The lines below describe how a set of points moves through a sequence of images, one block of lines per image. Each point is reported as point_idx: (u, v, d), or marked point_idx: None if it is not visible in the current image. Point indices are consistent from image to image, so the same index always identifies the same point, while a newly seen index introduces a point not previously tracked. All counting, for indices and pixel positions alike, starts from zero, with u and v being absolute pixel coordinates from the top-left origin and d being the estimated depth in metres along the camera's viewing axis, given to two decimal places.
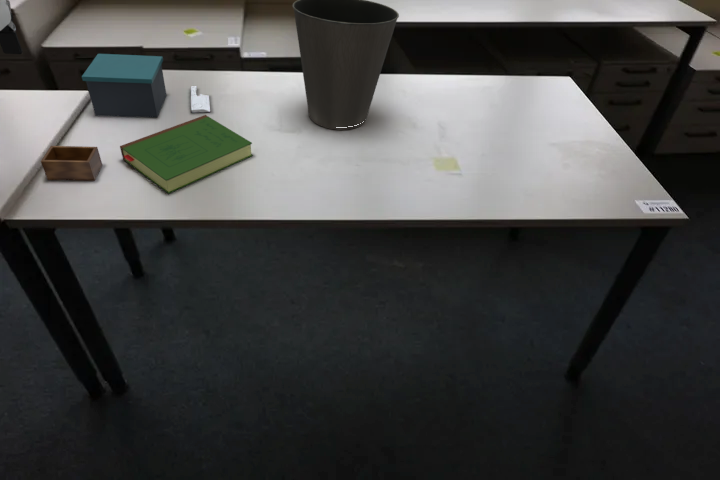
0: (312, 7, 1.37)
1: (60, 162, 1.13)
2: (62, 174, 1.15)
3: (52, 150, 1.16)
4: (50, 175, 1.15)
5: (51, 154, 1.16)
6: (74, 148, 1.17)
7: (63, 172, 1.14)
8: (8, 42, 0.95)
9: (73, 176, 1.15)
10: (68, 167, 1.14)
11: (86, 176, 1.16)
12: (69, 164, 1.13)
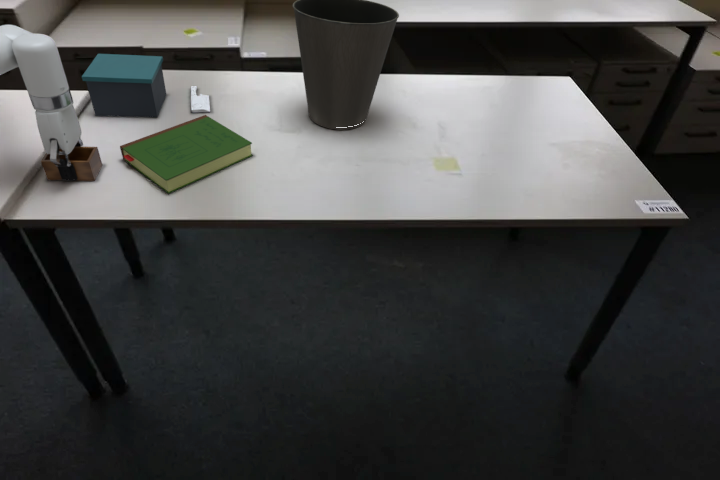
0: (312, 7, 1.37)
1: None
2: None
3: None
4: (50, 175, 1.15)
5: None
6: (74, 148, 1.17)
7: None
8: None
9: None
10: None
11: (86, 176, 1.16)
12: None
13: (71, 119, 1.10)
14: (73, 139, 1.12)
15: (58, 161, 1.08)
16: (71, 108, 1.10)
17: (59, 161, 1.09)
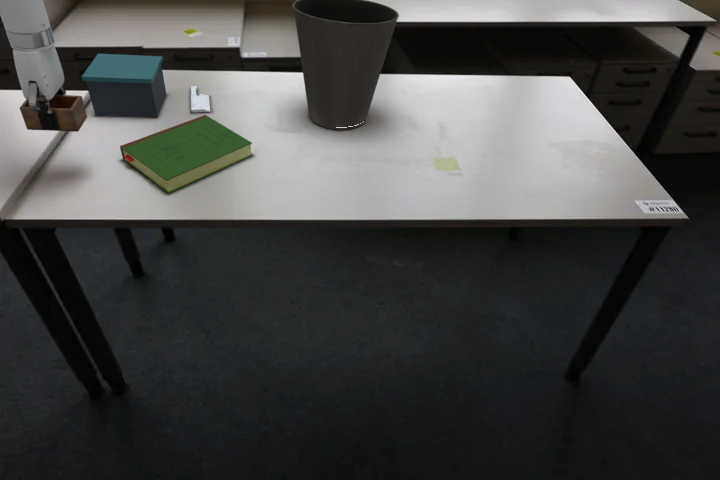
0: (312, 7, 1.37)
1: None
2: None
3: None
4: (30, 124, 1.06)
5: None
6: (56, 96, 1.09)
7: None
8: None
9: None
10: None
11: (69, 126, 1.08)
12: None
13: (53, 62, 1.02)
14: (55, 84, 1.04)
15: (38, 106, 1.00)
16: (53, 50, 1.02)
17: (39, 106, 1.01)
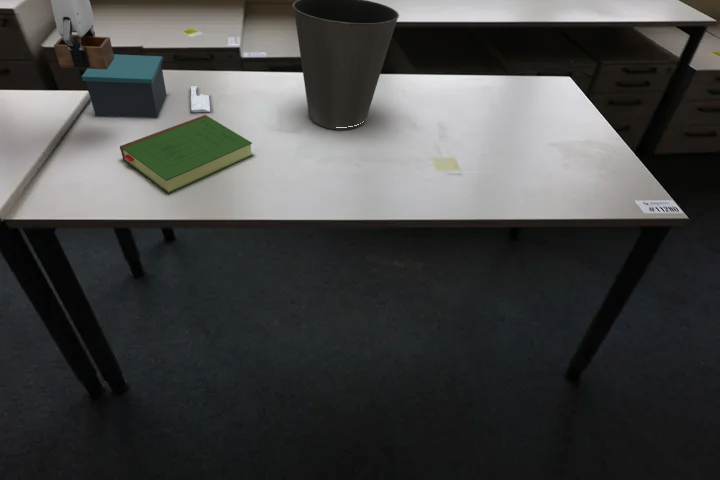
0: (312, 7, 1.37)
1: None
2: None
3: None
4: (63, 61, 1.15)
5: (63, 41, 1.17)
6: (87, 37, 1.18)
7: None
8: None
9: None
10: None
11: (98, 64, 1.16)
12: None
13: (84, 1, 1.11)
14: (86, 23, 1.12)
15: (71, 41, 1.09)
16: None
17: (72, 42, 1.09)
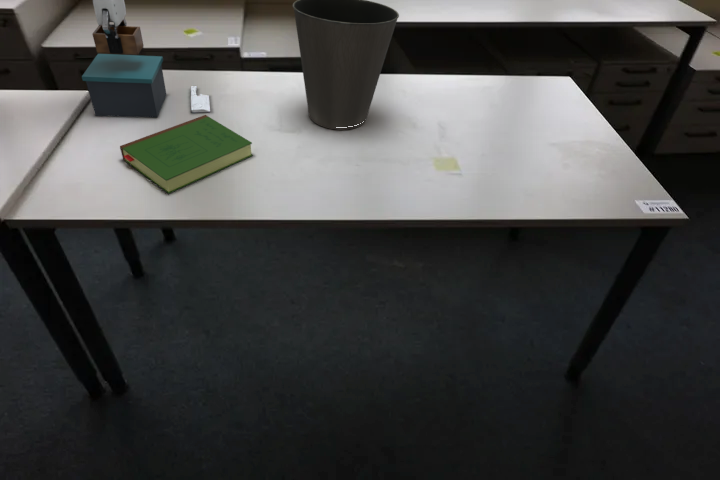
0: (312, 7, 1.37)
1: None
2: None
3: (101, 28, 1.32)
4: (100, 48, 1.30)
5: (100, 30, 1.32)
6: (120, 27, 1.33)
7: None
8: None
9: None
10: None
11: (131, 50, 1.32)
12: None
13: None
14: (120, 14, 1.28)
15: (109, 30, 1.24)
16: None
17: (109, 30, 1.25)
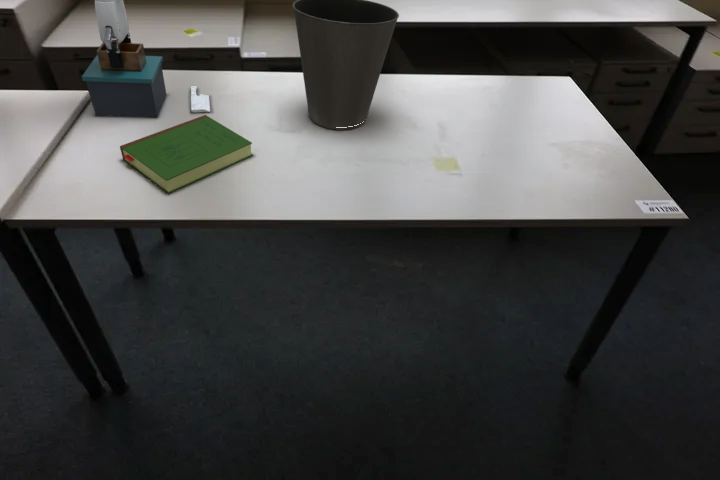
0: (312, 7, 1.37)
1: None
2: None
3: (104, 45, 1.35)
4: (103, 65, 1.33)
5: (104, 47, 1.34)
6: (123, 44, 1.36)
7: None
8: None
9: None
10: None
11: (134, 67, 1.34)
12: None
13: (122, 12, 1.29)
14: (124, 30, 1.30)
15: (110, 43, 1.25)
16: (122, 3, 1.29)
17: (111, 44, 1.26)
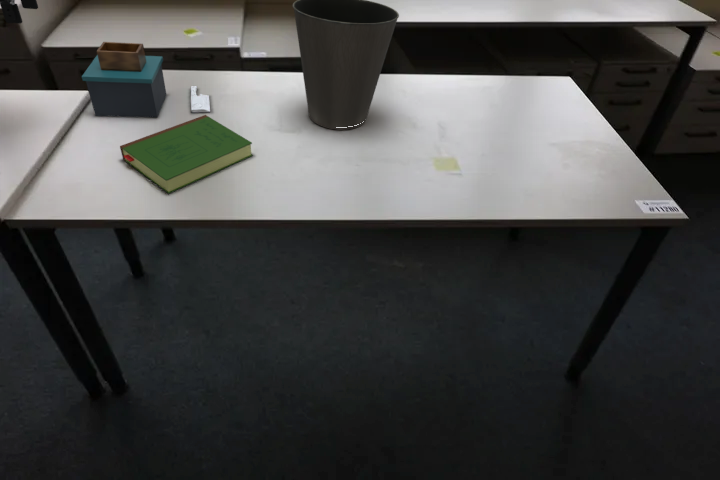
0: (312, 7, 1.37)
1: (113, 52, 1.31)
2: (114, 64, 1.33)
3: (104, 45, 1.35)
4: (103, 65, 1.33)
5: (104, 47, 1.34)
6: (123, 44, 1.36)
7: (114, 62, 1.33)
8: None
9: (123, 67, 1.34)
10: (119, 57, 1.32)
11: (134, 67, 1.34)
12: (120, 54, 1.32)
13: None
14: None
15: None
16: None
17: None
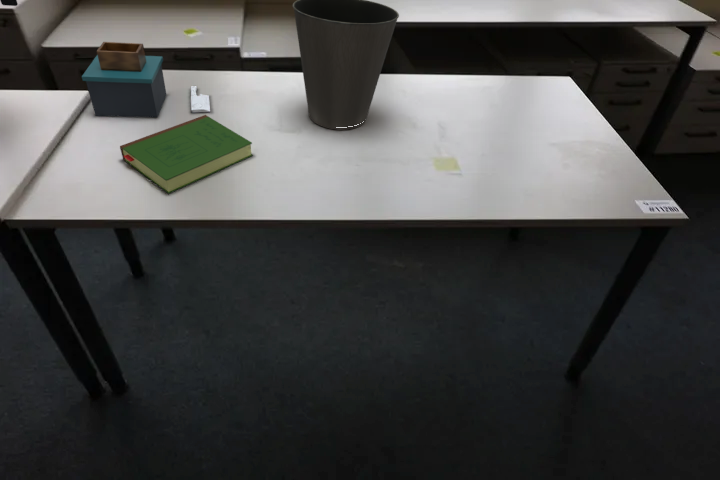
0: (312, 7, 1.37)
1: (113, 52, 1.31)
2: (114, 64, 1.33)
3: (104, 45, 1.35)
4: (103, 65, 1.33)
5: (104, 47, 1.34)
6: (123, 44, 1.36)
7: (114, 62, 1.33)
8: None
9: (123, 67, 1.34)
10: (119, 57, 1.32)
11: (134, 67, 1.34)
12: (120, 54, 1.32)
13: None
14: None
15: None
16: None
17: None
